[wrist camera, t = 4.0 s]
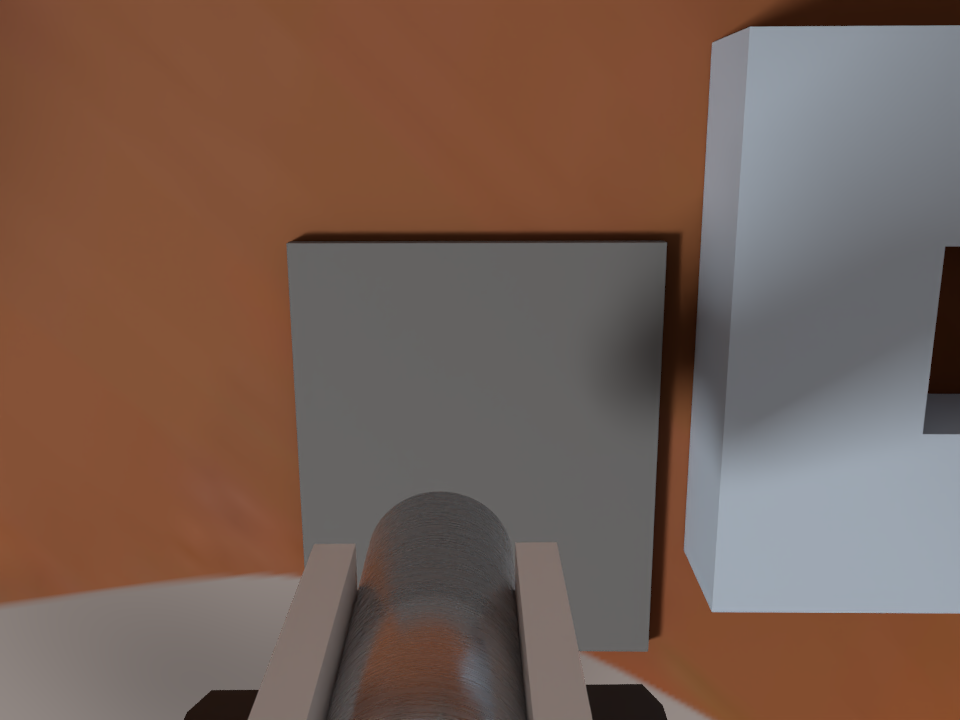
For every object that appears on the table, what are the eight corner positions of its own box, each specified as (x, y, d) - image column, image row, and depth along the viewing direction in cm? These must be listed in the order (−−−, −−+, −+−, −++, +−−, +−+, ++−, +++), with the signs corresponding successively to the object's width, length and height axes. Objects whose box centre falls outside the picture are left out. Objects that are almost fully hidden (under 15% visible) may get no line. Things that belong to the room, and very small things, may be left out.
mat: (312, 640, 27) (309, 649, 27) (290, 241, 24) (286, 243, 24) (645, 642, 27) (647, 651, 26) (663, 240, 24) (666, 242, 24)
